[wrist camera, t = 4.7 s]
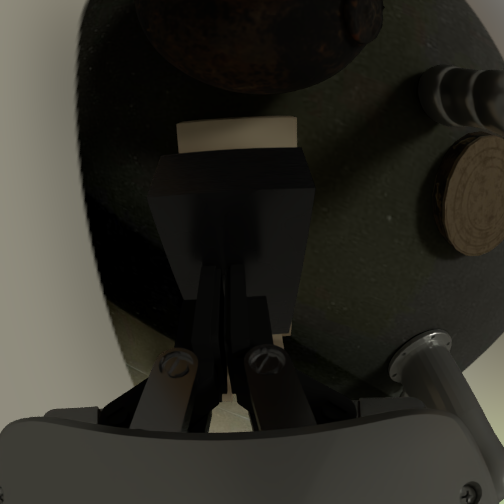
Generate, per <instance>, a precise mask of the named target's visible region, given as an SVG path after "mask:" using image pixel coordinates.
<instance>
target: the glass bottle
mask: <svg viewBox="0 0 504 504" xmlns="http://www.w3.org/2000/svg"><path fill="white" fill-rule="evenodd" d="M134 2H135V9H136V14H137V17H138V20H139V23H140V25H141V27H142V30H143V32H144V33H145V35H146V37H147V38H148V40H149V41H150V43H151V44H152V46H153V47H154V48H155V49H156V50H157V51H158V53H159V54H160V55H161V56H162V57H163V58H165V59H166V60H167V61H168V62H169V63H171V64H172V65H173V66H175V67H176V68H177V69H179V70H180V71H182V72H183V73H185V74H187V75H189V76H190V77H192V78H194V79H196V80H199V81H201V82H203V83H206V84H208V85H211V86H214V87H217V88H221V89H224V90H229V91H233V92H239V93H246V94H278V93H286V92H291V91H296V90H299V89H304V88H307V87H310V86H312V85H315V84H318V83H320V82H322V81H324V80H326V79H328V78H330V77H332V76H333V75H335V74H336V73H338V72H339V71H341V70H342V69H343V68H345V67H346V66H347V65H348V64H349V63H350V62H351V61H352V60H353V59H354V58H355V57H356V56H357V55H358V54H359V53H360V52H361V50H362V49H363V48H364V47H365V46H366V44H367V43H369V42H371V41H373V40H374V39H375V38H376V37H377V36H378V34H379V32H380V30H381V27H382V21H383V9H384V8H385V7H384V6H383V0H134Z"/></svg>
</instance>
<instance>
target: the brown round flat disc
mask: <svg viewBox="0 0 504 504" xmlns="http://www.w3.org/2000/svg"><path fill="white" fill-rule="evenodd" d="M432 196H433V215H434V219H435V222H436V225H437V228H438V230H439V232H440V233H441V234H442V236H443V237H444V238H445V240H446V241H447V242H448V243H449V244H451V245H452V246H453V247H454V248H455V249H456V250H457V251H459V252H461V253H463V254H465V255H467V256H479V255H482V254H484V253H487V252H489V251H491V250H492V249H493V248H495V247H496V246H497V245H498V244H499V243H501V242H502V241H503V239H504V139H502V138H500V137H497V136H495V135H491V134H488V133H485V132H473V133H468V134H466V135H465V136H463V137H462V138H460V139H459V140H457V141H456V142H455V143H454V144H453V146H452V147H451V148H450V149H449V151H448V152H447V153H446V155H445V156H444V158H443V160H442V163H441V165H440V167H439V170H438V172H437V174H436V179H435V185H434V190H433V195H432Z"/></svg>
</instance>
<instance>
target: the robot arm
mask: <svg viewBox="0 0 504 504" xmlns="http://www.w3.org/2000/svg"><path fill="white" fill-rule="evenodd" d="M451 345H452V340H451V337H450V336H449V334H448V333H447V332H446V331H444V330H441V329H435V330H430V331H427V332H424V333H422V334H420V335H418V336H416V337H414V338H412V339H411V340H410V341H408V342H407V343H406V344H404V345H403V346H402V347H401V348H400V349H399V350H398V351H397V352H396V353H395V355H394V356H393V358H392V359H391V361H390V363H389V366H388V373H389V375H390V377H391V379H392V380H393V381H395V382H399V383H402V385H403V391H402V393H401V394H400V396H399V397H394V398H360V399H359V401H351V400H350V399H349V398H347V397H346V396H344V395H342V394H340V393H338V392H337V391H335V390H333V389H331V388H329V387H327V386H325V385H324V384H322V383H320V382H318V381H316V380H314V379H313V378H311V377H309V376H307V375H305V374H304V373H302V372H300V371H298V370H297V369H295V368H294V366H293V364H292V361H291V359H290V356H289V355H288V353H287V352H286V351H285V350H284V349H283V348H281V347H279V346H277V345H274V343H273V336H272V330H271V323H270V317H269V310H268V304H267V298H266V296H251V297H247V295H246V281H245V267H244V264H235V265H231V266H230V268H229V269H225V297H224V290H223V281H222V271H221V269H216V266H202V267H201V273H200V279H199V286H198V293H197V299H192V300H183V303H182V308H181V313H180V318H179V324H178V329H177V335H176V341H175V346H174V348H172V349H168V350H166V351H164V352H162V353H161V354H160V355H159V356H158V357H157V359H156V360H155V362H154V365H153V367H152V370H151V372H150V375H149V377H148V378H147V379H145V380H144V381H142V382H141V383H139V384H138V385H136V386H135V387H133V388H132V389H130V390H129V391H127V392H126V393H124V394H123V395H121V396H120V397H118V398H117V399H115V400H114V401H112V402H110V403H109V404H108V405H106V406H105V407H104V408H103V409H99V408H98V407H85V408H68V409H67V408H66V409H53V410H50V411H48V412H47V413H46V414H45V415H44V417H30V418H23V419H19V420H16V421H14V422H11V423H9V424H8V425H7V426H6V427H5V428H4V429H3V430H2V432H1V433H0V504H499V502H501V501H502V500H503V499H504V447H503V445H502V444H501V442H500V441H499V439H498V437H497V436H496V435H495V433H494V431H493V429H492V427H491V425H490V423H489V422H488V420H487V418H486V416H485V414H484V412H483V410H482V408H481V407H480V405H479V403H478V401H477V399H476V397H475V395H474V394H473V392H472V390H471V388H470V386H469V384H468V383H467V381H466V379H465V378H464V376H463V374H462V372H461V371H460V369H459V367H458V366H457V364H456V362H455V361H454V359H453V357H452V356H451V354H450V352H449V351H450V349H451ZM227 366H228V372H229V379H230V385H231V391H232V394H236V396H237V403H238V404H239V405H241V406H242V407H243V408H245V409H246V410H248V415H249V419H250V423H251V426H252V430H253V432H232V433H208V432H209V427H210V422H211V417H212V409H214V408H215V407H216V406H217V405H218V404H219V402H222V394H227V392H228V385H227Z"/></svg>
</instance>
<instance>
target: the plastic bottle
mask: <svg viewBox="0 0 504 504" xmlns="http://www.w3.org/2000/svg"><path fill="white" fill-rule="evenodd" d="M418 96H419V100H420V103H421V106H422V108H423V110H424V111H425V113H426V114H427V115H428V116H429V117H430V118H431V119H432V120H434V121H436V122H438V123H440V124H442V125H444V126H450V127H459V126H469V127H477V128H483V129H486V130H489V131H492V132H494V133H497V134H500V135H502V136H504V69H501V70H473V69H465V68H459V67H456V66H452V65H446V64H440V65H436V66H433V67H431V68H429V69H427V70H426V71H425V72H424V73H423V75H422V76H421V78H420V81H419V86H418Z"/></svg>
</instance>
